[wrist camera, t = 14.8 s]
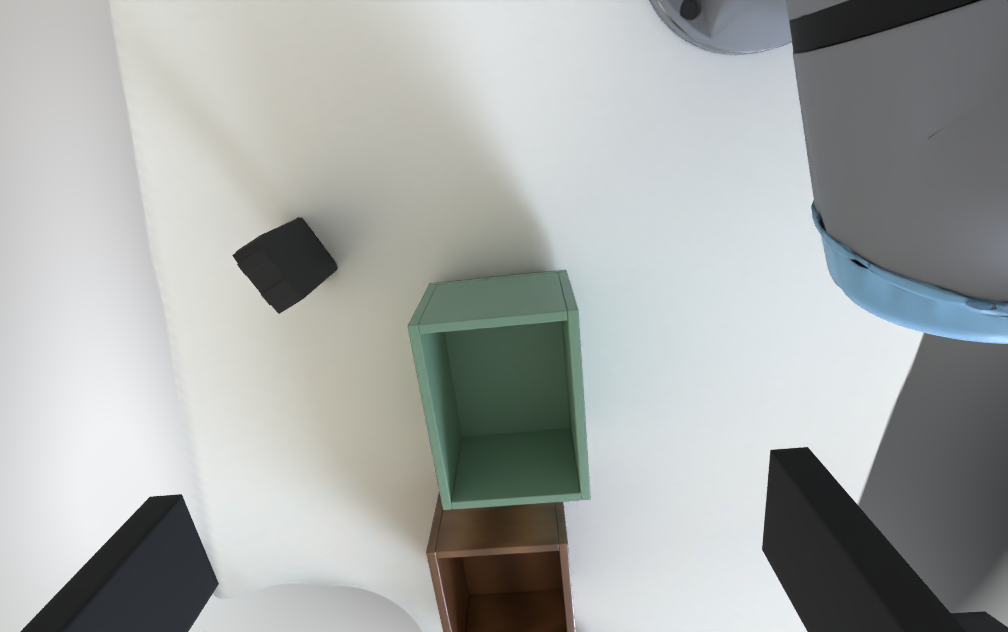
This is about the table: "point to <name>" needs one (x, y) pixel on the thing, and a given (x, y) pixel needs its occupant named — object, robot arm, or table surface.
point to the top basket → (503, 389)
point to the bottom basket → (502, 568)
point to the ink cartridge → (286, 263)
